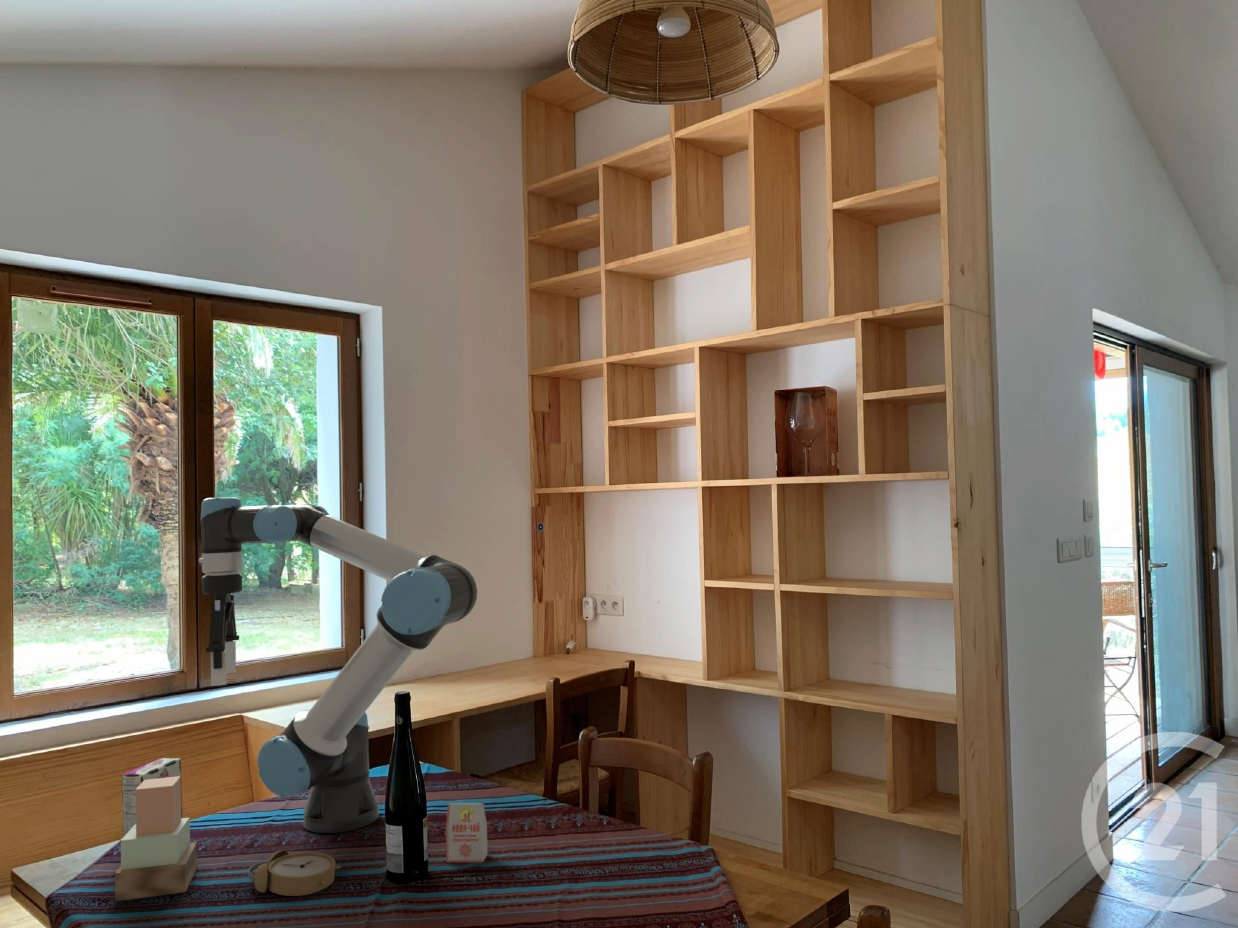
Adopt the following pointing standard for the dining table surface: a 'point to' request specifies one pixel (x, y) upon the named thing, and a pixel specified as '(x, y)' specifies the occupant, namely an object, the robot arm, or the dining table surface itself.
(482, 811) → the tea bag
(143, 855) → the tower upper
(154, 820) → the block
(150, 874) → the tower lower
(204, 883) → the dining table surface
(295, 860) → the alarm clock
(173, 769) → the candy bar box
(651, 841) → the dining table surface
